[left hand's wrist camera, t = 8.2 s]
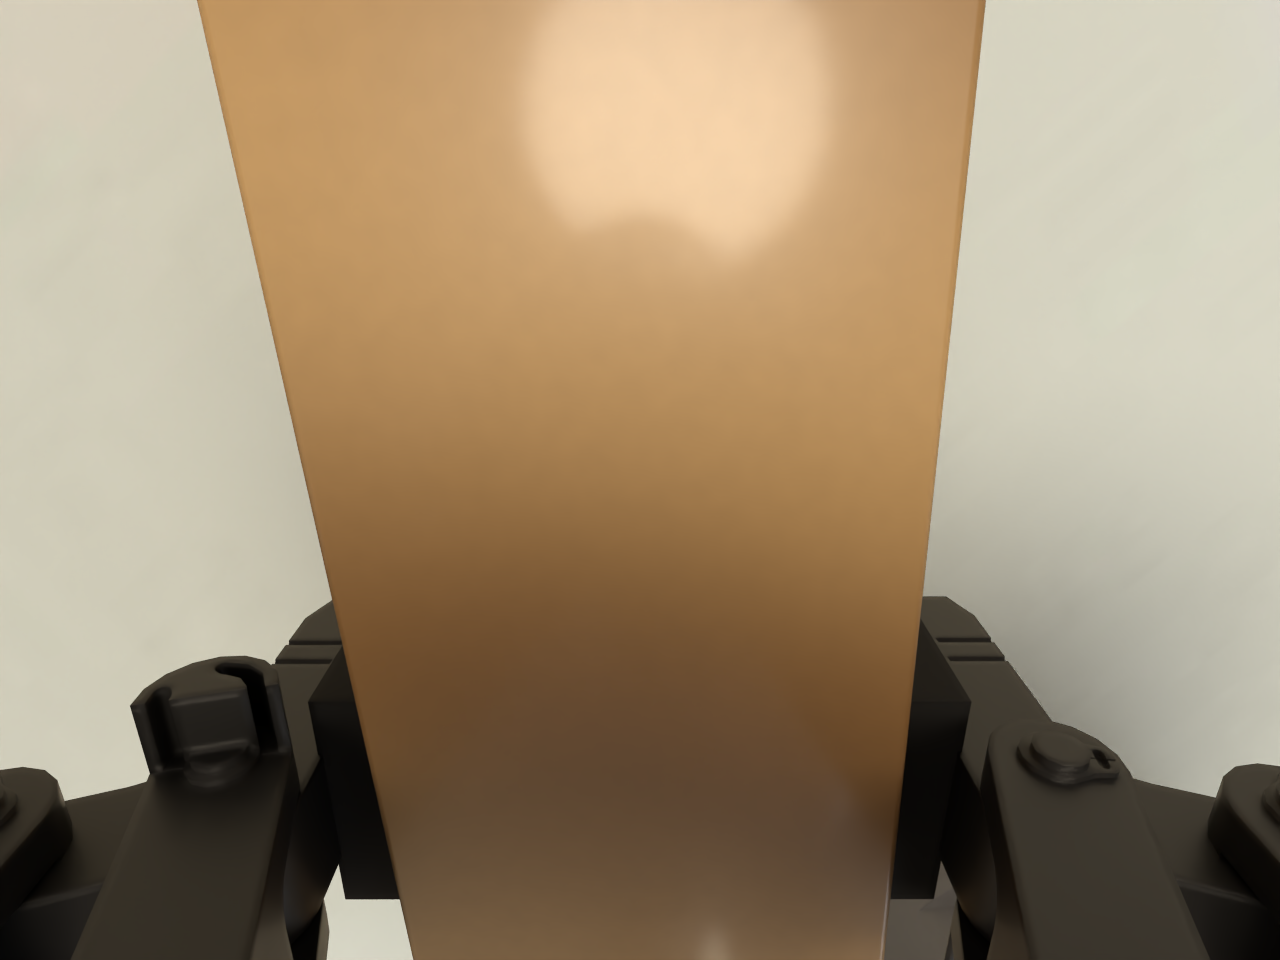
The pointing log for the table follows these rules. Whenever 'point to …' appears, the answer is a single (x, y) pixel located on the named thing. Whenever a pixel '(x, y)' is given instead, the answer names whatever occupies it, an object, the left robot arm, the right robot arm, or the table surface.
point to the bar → (617, 439)
